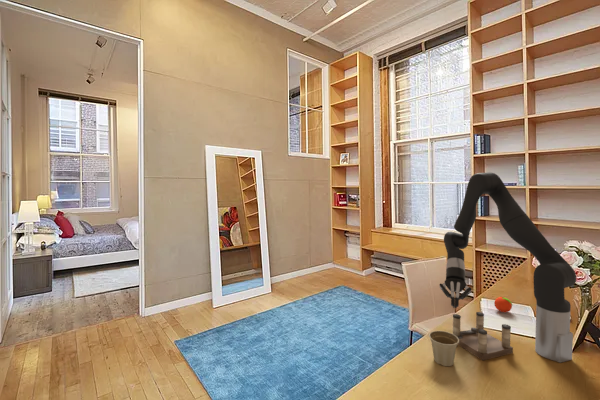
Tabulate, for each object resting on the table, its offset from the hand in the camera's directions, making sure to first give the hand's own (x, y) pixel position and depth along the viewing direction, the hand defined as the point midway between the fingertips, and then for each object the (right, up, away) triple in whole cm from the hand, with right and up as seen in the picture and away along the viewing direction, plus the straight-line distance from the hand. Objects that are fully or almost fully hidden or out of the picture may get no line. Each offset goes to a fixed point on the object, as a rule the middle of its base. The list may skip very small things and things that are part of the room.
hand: (454, 307), depth 125 cm
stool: (+4, -11, -12) cm, 16 cm away
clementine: (+32, -8, +16) cm, 37 cm away
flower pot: (-15, -12, -21) cm, 28 cm away
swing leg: (0, -8, -7) cm, 10 cm away
